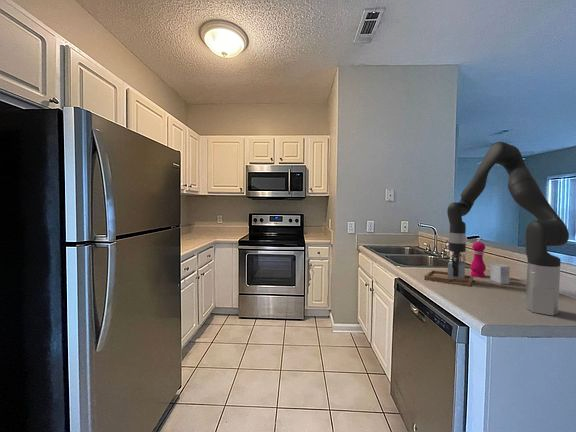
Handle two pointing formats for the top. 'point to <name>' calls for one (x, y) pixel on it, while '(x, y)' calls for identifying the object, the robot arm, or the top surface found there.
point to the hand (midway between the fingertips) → (456, 275)
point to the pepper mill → (478, 260)
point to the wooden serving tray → (443, 277)
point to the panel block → (460, 271)
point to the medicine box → (500, 273)
